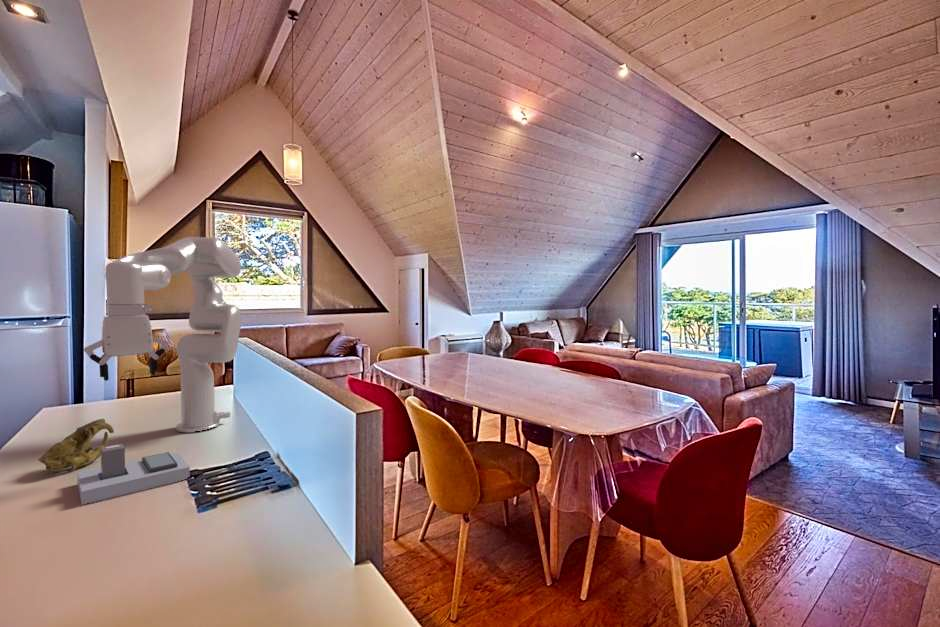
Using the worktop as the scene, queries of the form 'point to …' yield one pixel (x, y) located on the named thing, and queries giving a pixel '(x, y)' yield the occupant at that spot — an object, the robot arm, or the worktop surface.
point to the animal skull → (76, 447)
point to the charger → (112, 461)
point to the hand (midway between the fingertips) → (129, 376)
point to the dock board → (133, 477)
